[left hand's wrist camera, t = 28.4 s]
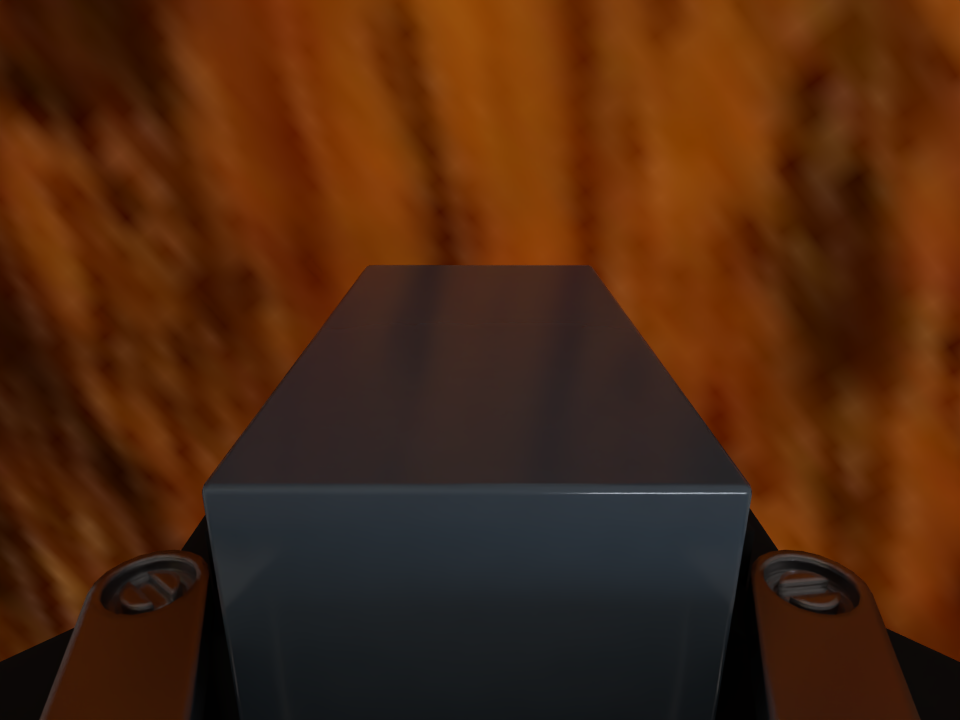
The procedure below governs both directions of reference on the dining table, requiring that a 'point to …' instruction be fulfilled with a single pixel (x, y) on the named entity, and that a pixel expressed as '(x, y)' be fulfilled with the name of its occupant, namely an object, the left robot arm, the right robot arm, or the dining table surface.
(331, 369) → the brick
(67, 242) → the dining table surface
